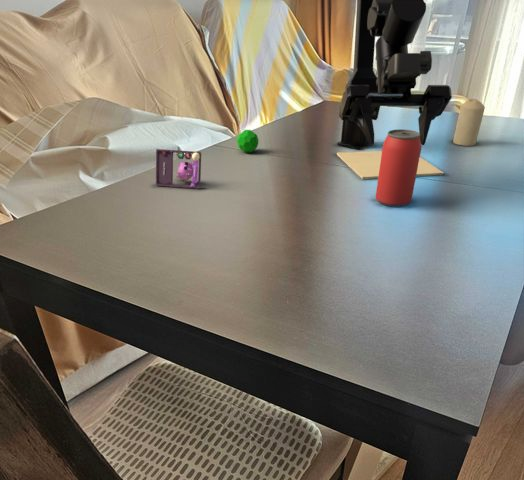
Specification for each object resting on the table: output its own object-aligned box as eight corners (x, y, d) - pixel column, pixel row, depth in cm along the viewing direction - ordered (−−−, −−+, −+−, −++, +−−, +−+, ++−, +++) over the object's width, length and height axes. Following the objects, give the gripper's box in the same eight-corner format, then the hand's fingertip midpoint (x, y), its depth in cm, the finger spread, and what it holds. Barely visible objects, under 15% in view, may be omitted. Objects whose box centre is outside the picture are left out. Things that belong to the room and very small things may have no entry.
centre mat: (336, 154, 118) (336, 152, 118) (408, 151, 121) (409, 149, 121) (362, 179, 104) (362, 176, 104) (443, 175, 107) (444, 172, 107)
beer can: (412, 197, 96) (425, 130, 89) (409, 209, 91) (422, 139, 84) (377, 193, 98) (387, 127, 90) (372, 205, 92) (382, 135, 85)
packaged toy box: (154, 148, 97) (199, 151, 96) (164, 151, 102) (207, 153, 101) (154, 185, 99) (198, 188, 98) (164, 185, 104) (206, 189, 103)
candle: (477, 146, 125) (488, 102, 119) (454, 145, 126) (463, 101, 120) (474, 141, 129) (484, 98, 123) (451, 139, 130) (461, 97, 124)
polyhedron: (235, 149, 121) (234, 128, 118) (254, 148, 122) (254, 127, 120) (240, 155, 117) (240, 133, 115) (260, 153, 119) (261, 132, 116)
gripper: (351, 31, 84) (356, 116, 82) (461, 31, 85) (469, 116, 83) (339, 76, 95) (343, 153, 93) (436, 77, 96) (442, 153, 94)
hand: (398, 144), depth 90 cm, fingers open, 9 cm apart
